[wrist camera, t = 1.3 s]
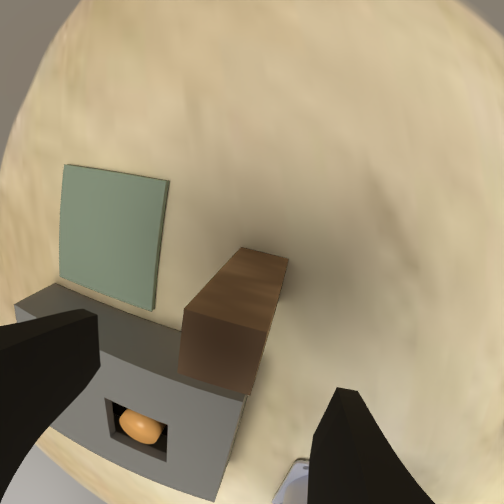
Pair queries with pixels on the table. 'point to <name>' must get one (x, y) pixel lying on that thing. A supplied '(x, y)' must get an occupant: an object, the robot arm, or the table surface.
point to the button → (141, 427)
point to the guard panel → (145, 399)
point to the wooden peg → (232, 321)
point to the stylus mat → (112, 232)
